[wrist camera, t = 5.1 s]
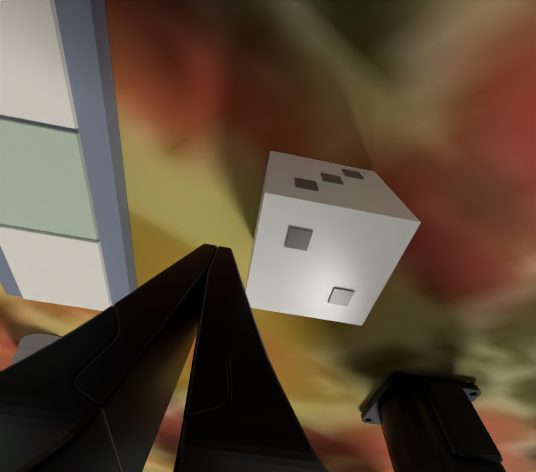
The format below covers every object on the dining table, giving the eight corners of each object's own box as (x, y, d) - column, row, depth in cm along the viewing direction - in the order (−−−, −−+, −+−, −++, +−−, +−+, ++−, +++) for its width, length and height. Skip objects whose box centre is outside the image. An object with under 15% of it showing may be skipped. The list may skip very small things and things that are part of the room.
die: (339, 254, 14) (362, 326, 10) (253, 238, 13) (242, 307, 10) (374, 169, 11) (423, 221, 7) (270, 148, 11) (265, 191, 7)
